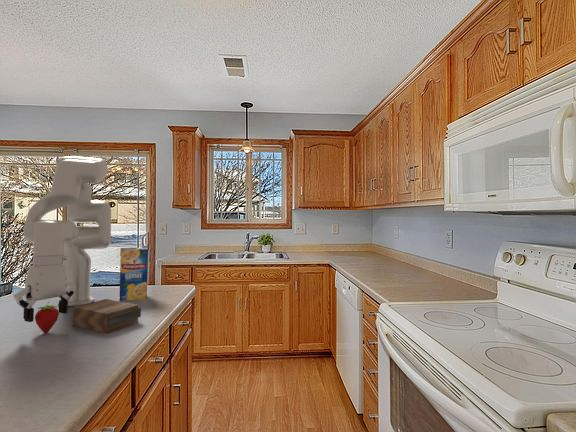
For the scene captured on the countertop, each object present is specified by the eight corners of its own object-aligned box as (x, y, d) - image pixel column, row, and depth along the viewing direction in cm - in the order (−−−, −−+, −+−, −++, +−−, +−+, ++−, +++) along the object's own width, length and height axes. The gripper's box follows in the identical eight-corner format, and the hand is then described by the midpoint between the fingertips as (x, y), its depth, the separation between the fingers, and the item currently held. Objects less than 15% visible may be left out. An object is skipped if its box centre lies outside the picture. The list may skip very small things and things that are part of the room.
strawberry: (60, 328, 105) (60, 296, 105) (56, 335, 98) (57, 302, 98) (37, 330, 102) (38, 298, 102) (31, 338, 95) (32, 304, 95)
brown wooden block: (72, 325, 107) (73, 307, 107) (105, 315, 118) (105, 299, 118) (109, 333, 101) (109, 314, 101) (140, 322, 112) (141, 305, 112)
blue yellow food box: (147, 298, 144) (148, 248, 144) (119, 301, 139) (120, 249, 139) (146, 295, 150) (147, 247, 150) (119, 297, 145) (120, 248, 145)
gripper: (68, 257, 109) (67, 308, 109) (8, 263, 93) (5, 323, 93) (83, 259, 106) (82, 311, 106) (23, 265, 91) (21, 326, 90)
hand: (46, 316), depth 100 cm, fingers open, 9 cm apart
